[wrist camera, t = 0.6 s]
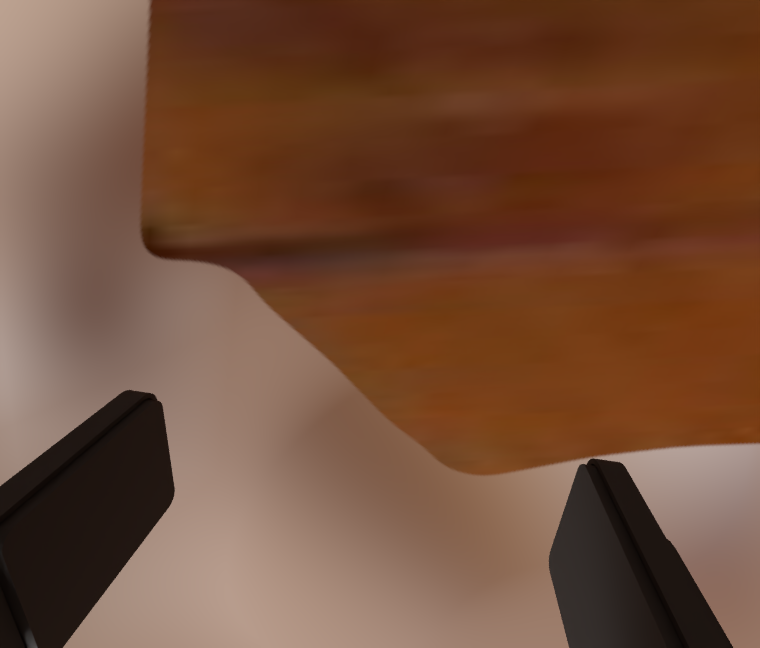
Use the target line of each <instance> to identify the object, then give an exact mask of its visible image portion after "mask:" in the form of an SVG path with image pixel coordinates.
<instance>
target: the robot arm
mask: <svg viewBox="0 0 760 648" xmlns="http://www.w3.org/2000/svg"><path fill="white" fill-rule="evenodd" d="M174 491H175V490H174V482H173V476H172V468H171V461H170V454H169V447H168V440H167V434H166V426H165V419H164V412H163V406H162V403H161V402H159V401H157V399H156V397H155V395H154V394H151V393H145V392H139V391H132V390H127V391H124V392H122V393H121V394H119V395H118V396H117V397H116V398H114V399H113V400H112V401H110V402H109V403H108V404H106V405H105V406H104V407H103V408H101V409H100V410H99V411H98V412H96V413H95V414H94V415H92V416H91V417H90V418H88V419H87V420H86V421H84V422H83V423H82V424H81V425H79V426H78V427H77V428H75V429H74V430H73V431H71V432H70V433H69V434H68V435H66V436H65V437H64V438H62V439H61V440H60V441H59V442H57V443H56V444H55V445H53V446H52V447H51V448H50V449H48V450H47V451H46V452H44V453H43V454H42V455H40V456H39V457H38V458H36V459H35V460H34V461H32V463H30V464H29V465H27V466H26V467H25V468H23V469H22V470H21V471H19V472H18V473H17V474H16V475H14V476H13V477H12V478H10V479H9V480H8V481H6V482H5V483H4V484H3V485H1V486H0V648H63V646H64V645H65V644H66V642H67V641H68V640H69V639H70V637H71V636H72V635H73V633H74V632H75V630H76V629H77V628H78V627H79V625H80V624H81V623H82V621H83V620H84V619H85V617H86V616H87V615H88V613H89V612H90V611H91V609H92V608H93V607H94V605H95V604H96V603H97V602H98V600H99V599H100V597H101V596H102V595H103V594H104V592H105V591H106V590H107V588H108V587H109V586H110V584H111V583H112V582H113V580H114V579H115V578H116V576H117V575H118V574H119V572H120V571H121V570H122V568H123V567H124V566H125V565H126V563H127V562H128V560H129V559H130V558H131V557H132V555H133V554H134V552H135V551H136V550H137V549H138V547H139V546H140V545H141V543H142V542H143V541H144V539H145V538H146V537H147V535H148V534H149V533H150V531H151V530H152V529H153V527H154V526H155V525H156V523H157V522H158V521H159V519H160V518H161V517H162V516H163V514H164V513H165V512H166V510H167V509H168V508H169V506H170V504H171V502H172V500H173V497H174ZM549 569H550V574H551V578H552V582H553V586H554V589H555V594H556V597H557V601H558V606H559V609H560V613H561V617H562V621H563V625H564V629H565V633H566V637H567V641H568V644H569V648H733V646H732V645H731V643H730V641H729V640H728V638H727V636H726V634H725V633H724V631H723V629H722V627H721V626H720V624H719V622H718V621H717V619H716V617H715V615H714V614H713V612H712V610H711V609H710V607H709V605H708V603H707V602H706V600H705V598H704V596H703V595H702V593H701V591H700V590H699V588H698V586H697V584H696V583H695V581H694V579H693V578H692V576H691V574H690V572H689V571H688V569H687V567H686V566H685V564H684V562H683V561H682V559H681V557H680V555H679V554H678V552H677V550H676V549H675V547H674V546H673V545H672V543H671V542H670V541H669V540H668V539H666V537H665V535H664V534H663V532H662V530H661V529H660V527H659V525H658V523H657V522H656V520H655V518H654V516H653V515H652V513H651V511H650V509H649V508H648V506H647V504H646V502H645V501H644V499H643V497H642V495H641V494H640V492H639V490H638V488H637V487H636V485H635V483H634V482H633V480H632V478H631V476H630V475H629V473H628V471H627V469H626V468H625V466H624V465H623V464H622V463H620V462H613V461H607V460H600V459H590V460H589V461H588V463H587V465H585V464H581V465H580V466H579V468H578V470H577V473H576V476H575V479H574V482H573V485H572V488H571V491H570V494H569V497H568V500H567V503H566V506H565V509H564V512H563V515H562V518H561V521H560V524H559V527H558V530H557V533H556V536H555V539H554V542H553V545H552V548H551V551H550V555H549Z"/></svg>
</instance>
